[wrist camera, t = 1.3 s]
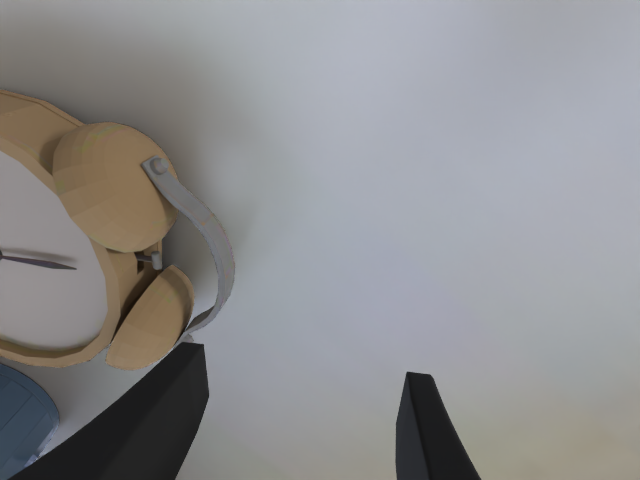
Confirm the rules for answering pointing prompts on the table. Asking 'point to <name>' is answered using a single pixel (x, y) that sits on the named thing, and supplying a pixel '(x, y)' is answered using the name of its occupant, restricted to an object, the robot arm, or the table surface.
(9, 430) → the pen pot
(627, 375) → the table surface
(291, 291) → the table surface
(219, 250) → the alarm clock
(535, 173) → the table surface
